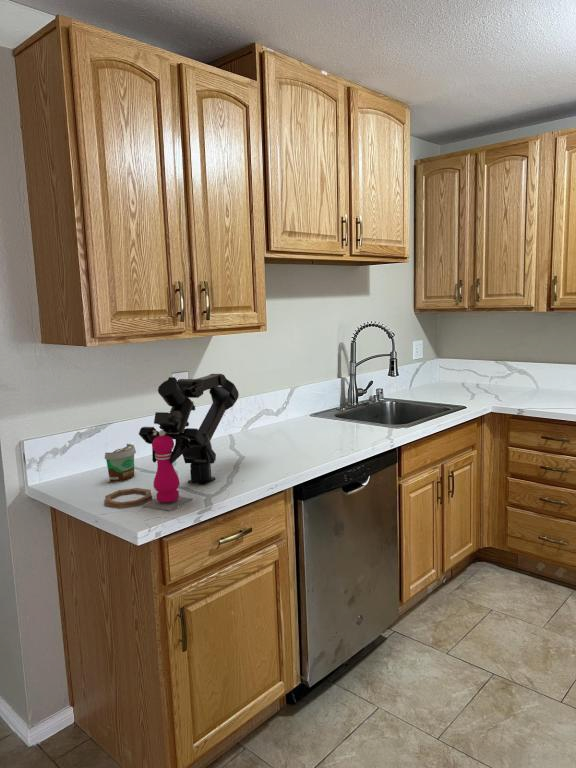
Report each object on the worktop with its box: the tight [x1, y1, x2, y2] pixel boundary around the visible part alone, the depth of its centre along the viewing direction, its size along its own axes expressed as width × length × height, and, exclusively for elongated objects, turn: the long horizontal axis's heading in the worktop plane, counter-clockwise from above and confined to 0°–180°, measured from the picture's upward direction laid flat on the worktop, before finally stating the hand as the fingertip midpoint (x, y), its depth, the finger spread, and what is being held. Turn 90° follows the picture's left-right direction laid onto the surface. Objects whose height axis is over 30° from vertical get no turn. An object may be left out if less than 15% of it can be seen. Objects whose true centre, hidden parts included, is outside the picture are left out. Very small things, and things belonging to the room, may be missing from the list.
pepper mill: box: [151, 429, 181, 502], centre depth 168 cm, size 7×7×20 cm
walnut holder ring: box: [104, 487, 153, 509], centre depth 174 cm, size 13×13×1 cm
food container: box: [104, 443, 137, 483], centre depth 195 cm, size 12×6×10 cm, turn 158°
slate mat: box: [141, 495, 194, 512], centre depth 170 cm, size 10×10×1 cm
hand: (162, 462), depth 167 cm, fingers closed on pepper mill, 5 cm apart
